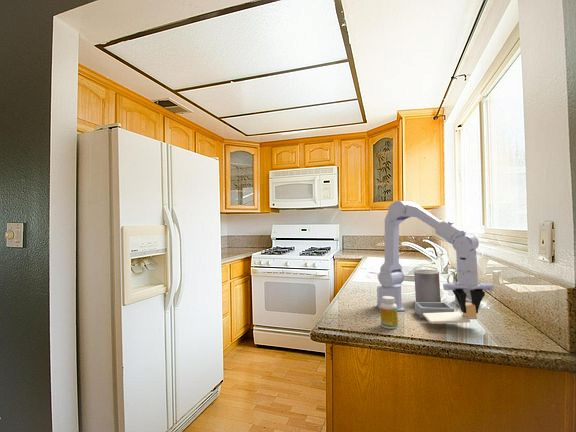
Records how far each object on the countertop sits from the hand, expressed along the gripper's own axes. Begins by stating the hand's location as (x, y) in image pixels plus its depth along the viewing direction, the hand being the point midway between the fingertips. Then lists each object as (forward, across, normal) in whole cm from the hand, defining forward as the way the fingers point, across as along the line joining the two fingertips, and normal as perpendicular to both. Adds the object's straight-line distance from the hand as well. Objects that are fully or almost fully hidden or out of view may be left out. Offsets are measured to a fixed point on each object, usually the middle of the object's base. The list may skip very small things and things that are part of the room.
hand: (469, 312), depth 93 cm
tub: (+5, -8, +10) cm, 14 cm away
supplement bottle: (+5, -26, -2) cm, 26 cm away
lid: (+2, -6, 0) cm, 6 cm away
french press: (+5, +10, +30) cm, 32 cm away
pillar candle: (+5, -5, +28) cm, 28 cm away
